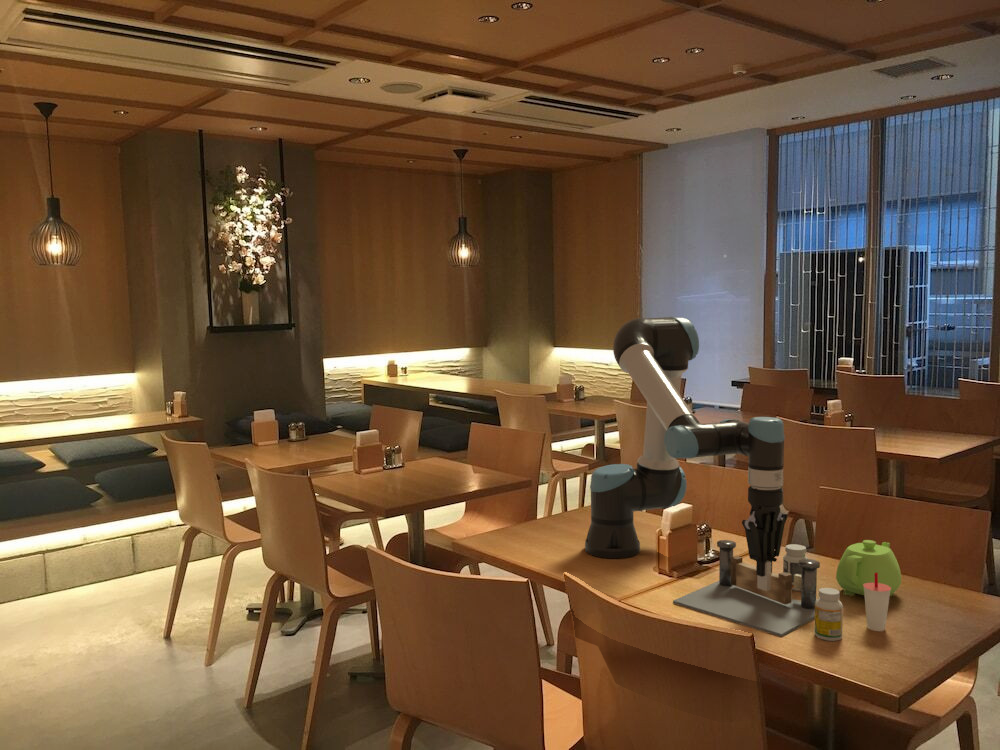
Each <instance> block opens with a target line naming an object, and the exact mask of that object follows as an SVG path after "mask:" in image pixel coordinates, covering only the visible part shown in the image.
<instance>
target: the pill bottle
mask: <svg viewBox="0 0 1000 750" xmlns="http://www.w3.org/2000/svg"><path fill="white" fill-rule="evenodd" d="M785 552H786V554H784V556H783V559H782V560H783V562H782V563H783V567H782V570H783V571H782V573H783V572H786V573H789V574H792V591H797V592H799V591H800V592H801V590H800V589H796V588H794V575H795V574H799V575H801V567H800V566H799V560H801V559H809V558H808V557H807V556H806V553H807V547H806V546H804V545H801V544H796V543H795V544H794V543H793V544H791V543H790V544H787V545H786V546H785Z"/></svg>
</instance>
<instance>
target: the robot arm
mask: <svg viewBox="0 0 1000 750" xmlns="http://www.w3.org/2000/svg"><path fill="white" fill-rule="evenodd" d="M612 345H613V346H612V352H613V356H614V359H615V361H616V363H617V365H618V366H619V368H620V369H621V370H622V372H624V373H626V374H628V375H629V376H630V378H631V379H632V380H633V382H634V384H635V385H636V387H637V389H638V390H639V391H640V393H641V395H642V396H643V397H644V399H645V401H646V411H645V412H646V413H645V425H644V427H645V428H644V439H643V454H641V455H640V456H639V457H638V458H637V460H636V468H633V466H632V465H631V464H627V463H619V464H618V463H617V464H616V463H614V464H607V465H604V466H601V467H597V468H596V469H594V471H593V472H592V473H591V475H590V476H591V477H590V486H589V489H590V525H589V527H588V528H589V529H588V531H587V535H586V539H585V541H584V551H585V553H586V554H587V553H588V555H591V556H594V557H597V558H603V559H624V558H630V557H634V556H636V555H638V554H640V552H641V543H640V540H639V537H638V534H637V530H636V527H635V524H634V513H635V512H640V511H648V510H650V511H651V510H657V509H658V510H660V509H661V510H663V509H667V508H673V507H676V506H677V505H679V504H680V503H681V502H682V501H683V499H684V498H685V495H686V490H687V479H686V473H685V472H684V470H683V468H682V467H681V466H680V462H679V461H678V460H677V459H686V460H687V459H688V460H690V459H695V458H702V457H703V458H704V457H713V456H714V457H716V456H726V455H741V456H746V457H748V467H747V468H748V469H747V471H748V472H747V473H748V474H747V483H748V485H749V486H748V487H747V501H748V504H750V507H751V508H750V512H749V517H748V518H746V519H742V521H741V524H742V526H743V529H744V532H745V537H746V543H747V550H748V556H749V559H750V560H753V561H755V563H756V570H757V571H756V573H757V588H759V589H762V590H765V591H769V590H771V574H772V572H773V562H777V560H778V557H779V556H780V553H781V548H782V542H783V537H784V536H783V535H784V530H785V524H786V523H787V520H788V514H787V513H783V512H782V511H781V507H780V506H782V505H783V503H784V489H783V485H784V462H785V461H784V460H785V457H784V455H785V438H786V436H785V428H784V421H783V420H782V419H781V418H779V417H772V416H771V417H770V416H755V417H751V418H750V419H749V421H748V422H746V421H742V420H739V419H736V418H735V419H730V418H729V419H723V420H721V421H720V422H714V423H713V422H711V423H710V422H709V423H701V422H700V421H699V419H698V418H697V417H696V415H695V414H693V411H692V410H691V409H690V407H689V406H688V404H687V403H686V402H685V400H684V399H683V397H682V396H681V383H682V375H683V374H684V373H685V372H686V371H687V370H688V369H689V361H690V362H691V361H692V360H694V359H696V357H697V355H698V354H699V349H700V339H699V333H698V332H697V329H696V327H695V325H694V324H693V323H692V321H690V320H689V319H688V318H686V317H676V316H668V317H667V316H665V317H664V316H663V317H647V318H645V317H643V318H642V317H637V318H633V319H631V320H629V321H627V322H625V323H624V324H622V325H621V326H620V328H619V329H618V331H617V332H616V333H615V335H614V340H613V344H612ZM672 506H673V507H672ZM776 557H777V558H776Z"/></svg>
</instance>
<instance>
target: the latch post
mask: <svg viewBox="0 0 1000 750" xmlns="http://www.w3.org/2000/svg"><path fill="white" fill-rule="evenodd" d="M820 563H821V562H820V561H819V560H816V559H811V558H808V559H801V560H799V566H800V567H801V575H799V574H795V575H794V588H796V589H800V590H801V591H800V601H801V607H802V608H805V609H815V601H816V600H817V583H818V581H817V580H818V579H817V576H818V569H819V568H821V564H820Z"/></svg>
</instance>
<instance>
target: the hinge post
mask: <svg viewBox="0 0 1000 750" xmlns="http://www.w3.org/2000/svg"><path fill="white" fill-rule="evenodd" d="M716 546H717V548H719V565H718V566H719V568H718V569H719V570H718V571H719V572H718V573H719V574H718V575H719V576H718V577H719V579H718V581H719V584H720V585H722V586H732V584H731V557H734V549H735V548H737V543H736V542H735V541H734V540H730V539H729V540H728V539H721V540H718V541H716Z"/></svg>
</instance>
